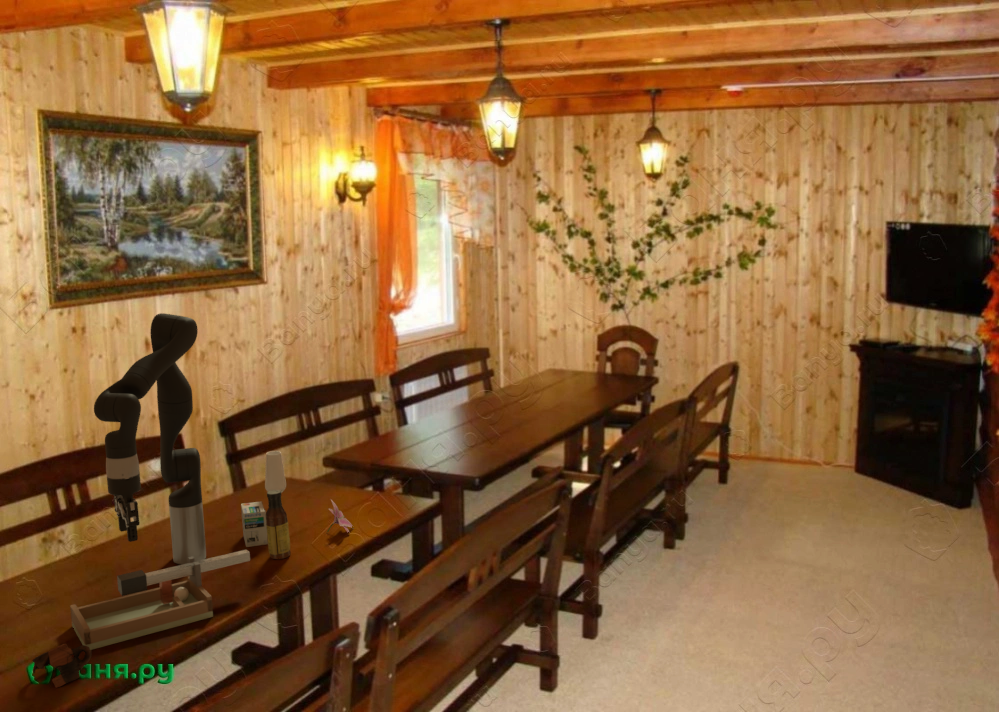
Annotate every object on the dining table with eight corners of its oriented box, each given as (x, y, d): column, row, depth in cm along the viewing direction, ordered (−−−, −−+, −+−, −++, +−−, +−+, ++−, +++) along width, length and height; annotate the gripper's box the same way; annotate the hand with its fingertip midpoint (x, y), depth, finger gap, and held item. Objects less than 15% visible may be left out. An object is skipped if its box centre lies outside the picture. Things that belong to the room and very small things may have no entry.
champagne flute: (266, 529, 294) (262, 456, 290) (267, 521, 301) (263, 450, 297) (288, 527, 296) (284, 455, 292) (288, 520, 302) (284, 449, 298)
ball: (188, 586, 241) (182, 599, 241) (176, 583, 239) (169, 596, 239) (192, 591, 238) (186, 604, 238) (180, 588, 236) (174, 601, 236)
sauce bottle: (292, 551, 275) (289, 488, 272) (288, 560, 269) (284, 494, 265) (270, 552, 275) (266, 488, 271) (266, 560, 269) (262, 495, 265)
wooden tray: (72, 626, 229) (67, 582, 227) (193, 595, 246) (190, 554, 244) (86, 651, 216) (81, 605, 214) (213, 616, 233) (210, 573, 231)
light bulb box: (268, 544, 281) (266, 511, 279) (245, 547, 279) (243, 513, 277) (264, 533, 291) (262, 500, 289) (242, 536, 289) (240, 503, 287)
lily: (336, 545, 282) (350, 518, 282) (307, 526, 286) (321, 499, 286) (353, 543, 294) (367, 517, 294) (325, 525, 298) (339, 499, 298)
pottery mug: (42, 696, 197) (27, 660, 198) (44, 695, 206) (30, 661, 206) (99, 667, 203) (84, 633, 204) (99, 667, 211) (84, 634, 212)
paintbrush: (120, 610, 232) (117, 575, 230) (247, 577, 251) (245, 545, 249) (124, 615, 229) (121, 580, 227) (252, 582, 247) (250, 550, 246)
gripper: (100, 468, 230) (105, 530, 232) (113, 482, 218) (119, 547, 221) (131, 463, 234) (136, 524, 237) (146, 477, 222) (151, 540, 225)
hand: (128, 535), depth 229 cm, fingers open, 8 cm apart
